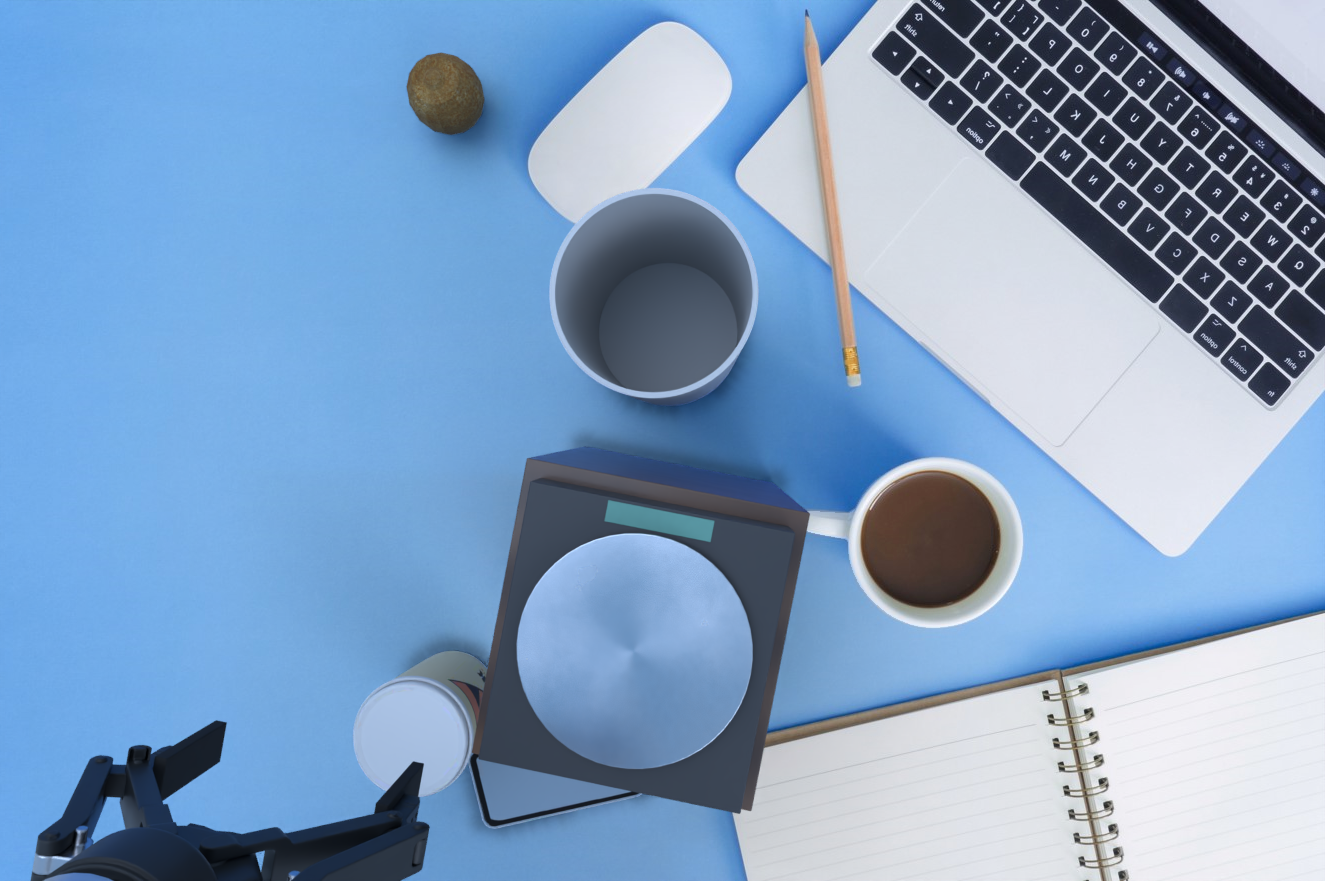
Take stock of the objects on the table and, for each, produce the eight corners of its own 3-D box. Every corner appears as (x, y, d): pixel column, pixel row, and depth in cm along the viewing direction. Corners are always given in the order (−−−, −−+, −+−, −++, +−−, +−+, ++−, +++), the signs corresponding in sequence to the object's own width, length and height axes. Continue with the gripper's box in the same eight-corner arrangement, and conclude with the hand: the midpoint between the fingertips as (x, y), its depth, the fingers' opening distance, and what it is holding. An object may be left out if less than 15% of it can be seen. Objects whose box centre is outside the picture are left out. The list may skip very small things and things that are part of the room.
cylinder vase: (755, 386, 77) (780, 369, 52) (617, 421, 78) (577, 420, 53) (720, 248, 77) (729, 164, 52) (583, 284, 78) (527, 218, 53)
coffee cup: (504, 745, 79) (469, 803, 67) (401, 742, 79) (348, 799, 67) (505, 642, 79) (470, 681, 67) (402, 639, 79) (349, 678, 67)
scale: (738, 792, 52) (740, 815, 49) (490, 740, 52) (477, 760, 49) (790, 526, 51) (795, 533, 48) (539, 477, 52) (529, 481, 49)
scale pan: (727, 786, 49) (728, 791, 48) (498, 739, 49) (496, 743, 48) (772, 556, 48) (773, 558, 48) (541, 511, 49) (539, 512, 48)
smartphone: (465, 751, 78) (627, 713, 77) (467, 747, 79) (628, 710, 78) (485, 831, 78) (648, 795, 77) (487, 827, 79) (649, 791, 78)
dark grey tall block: (734, 681, 78) (751, 811, 52) (547, 643, 78) (471, 753, 52) (773, 482, 77) (810, 513, 51) (584, 446, 78) (526, 457, 52)
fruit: (505, 93, 78) (482, 55, 70) (476, 158, 78) (451, 128, 70) (441, 65, 78) (412, 24, 70) (413, 130, 78) (380, 96, 70)
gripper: (392, 928, 36) (508, 744, 58) (-170, 805, 38) (146, 669, 59) (360, 1102, 37) (488, 855, 58) (-198, 974, 38) (128, 778, 59)
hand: (316, 761), depth 58 cm, fingers open, 13 cm apart
